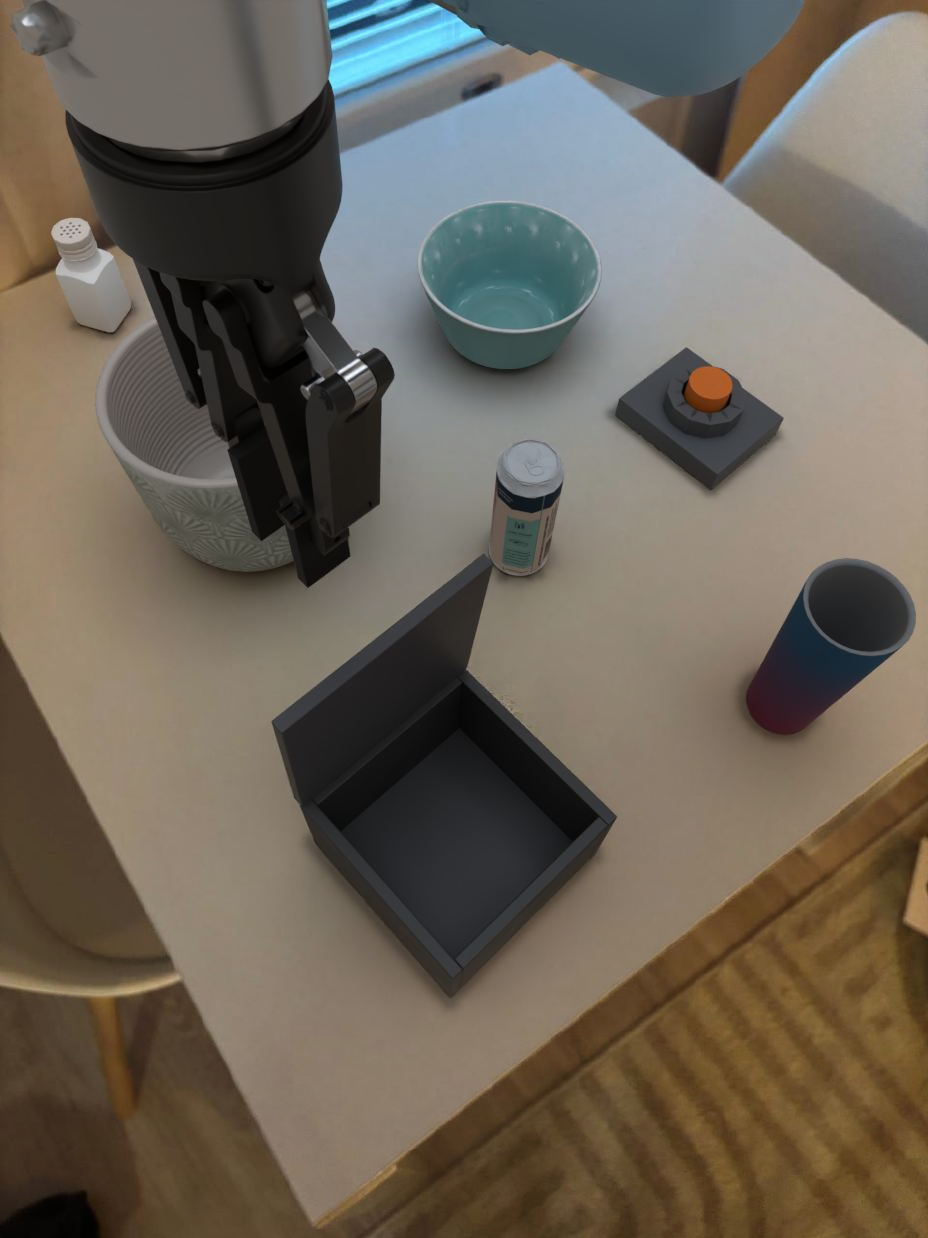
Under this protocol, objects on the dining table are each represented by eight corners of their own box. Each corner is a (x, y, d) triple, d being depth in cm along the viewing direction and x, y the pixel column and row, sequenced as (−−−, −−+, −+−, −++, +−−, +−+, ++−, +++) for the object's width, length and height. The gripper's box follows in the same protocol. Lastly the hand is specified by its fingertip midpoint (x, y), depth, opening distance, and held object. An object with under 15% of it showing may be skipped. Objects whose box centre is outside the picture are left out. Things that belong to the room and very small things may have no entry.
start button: (735, 397, 80) (741, 383, 78) (708, 420, 78) (713, 406, 77) (702, 373, 81) (708, 359, 79) (675, 395, 80) (680, 381, 78)
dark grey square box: (595, 853, 65) (617, 816, 57) (450, 999, 60) (452, 980, 52) (459, 718, 69) (463, 666, 61) (314, 843, 64) (298, 804, 57)
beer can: (532, 521, 77) (548, 425, 67) (557, 567, 75) (577, 476, 65) (479, 539, 76) (486, 445, 66) (502, 586, 74) (514, 497, 64)
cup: (779, 764, 68) (863, 676, 55) (715, 693, 71) (779, 593, 57) (844, 713, 70) (939, 617, 57) (779, 646, 73) (856, 539, 59)
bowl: (577, 411, 83) (591, 342, 76) (402, 383, 84) (400, 313, 77) (597, 287, 91) (611, 213, 83) (436, 262, 91) (436, 188, 84)
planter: (379, 583, 74) (367, 463, 61) (160, 621, 72) (98, 506, 59) (345, 419, 82) (328, 280, 69) (147, 448, 80) (89, 312, 66)
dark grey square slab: (494, 563, 48) (483, 552, 48) (281, 733, 43) (270, 721, 43) (467, 667, 61) (459, 658, 61) (301, 807, 56) (293, 797, 56)
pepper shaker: (75, 325, 86) (36, 239, 78) (96, 296, 88) (61, 209, 80) (114, 336, 86) (80, 251, 77) (135, 306, 88) (103, 220, 79)
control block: (776, 434, 83) (791, 403, 79) (710, 490, 79) (723, 460, 76) (680, 363, 86) (691, 331, 83) (614, 415, 83) (622, 383, 80)
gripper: (-72, 8, 28) (144, 488, 48) (266, 304, 22) (346, 700, 43) (145, -80, 30) (262, 411, 51) (494, 168, 25) (466, 603, 46)
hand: (301, 543), depth 47 cm, fingers open, 3 cm apart
